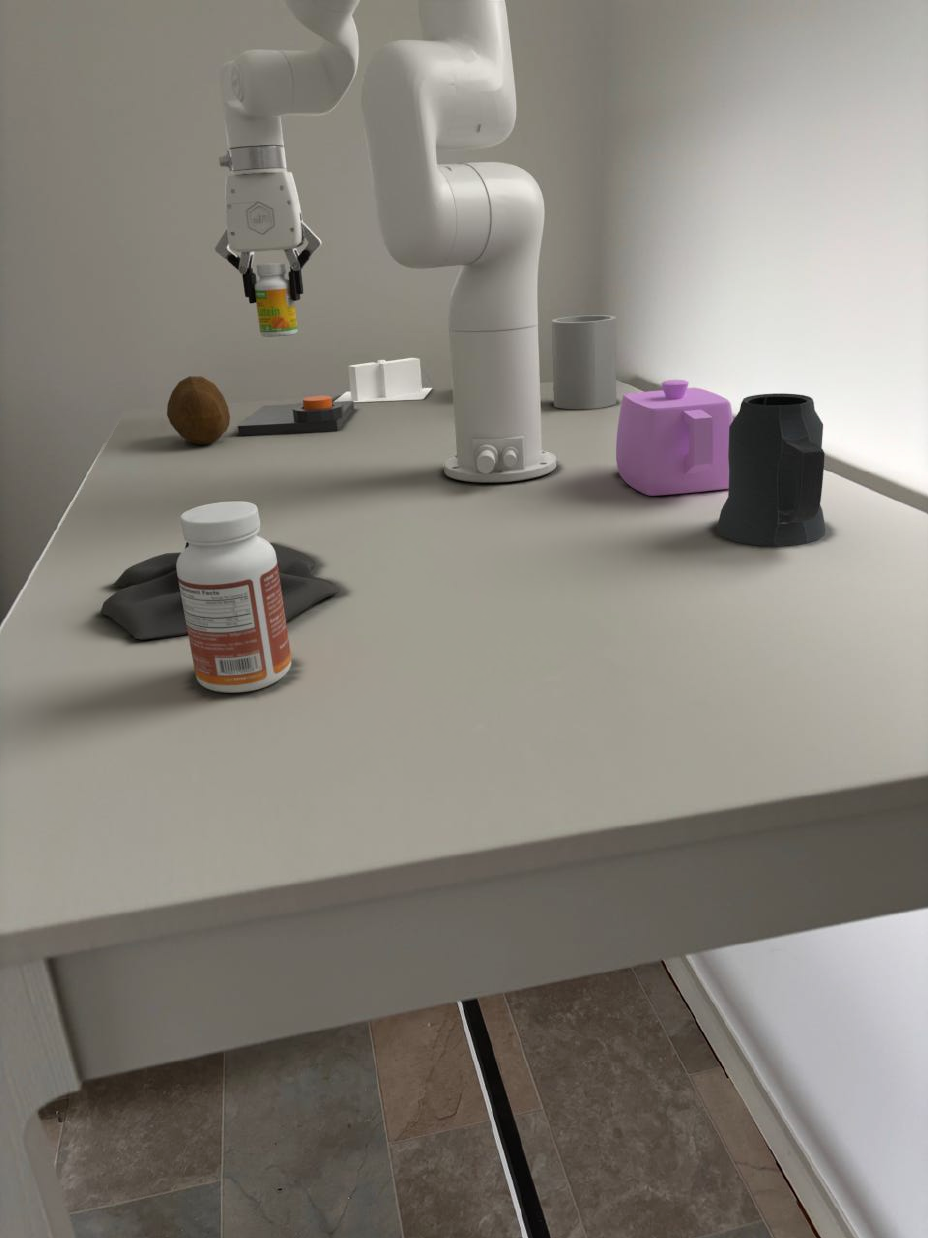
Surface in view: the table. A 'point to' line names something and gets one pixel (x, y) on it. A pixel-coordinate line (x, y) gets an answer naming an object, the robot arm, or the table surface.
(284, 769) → the table surface
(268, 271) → the supplement bottle
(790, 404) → the mug
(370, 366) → the napkin holder
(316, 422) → the dark grey button base
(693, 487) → the teapot
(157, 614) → the cloth
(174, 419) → the potato
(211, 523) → the pill bottle
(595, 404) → the cup
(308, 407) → the button
